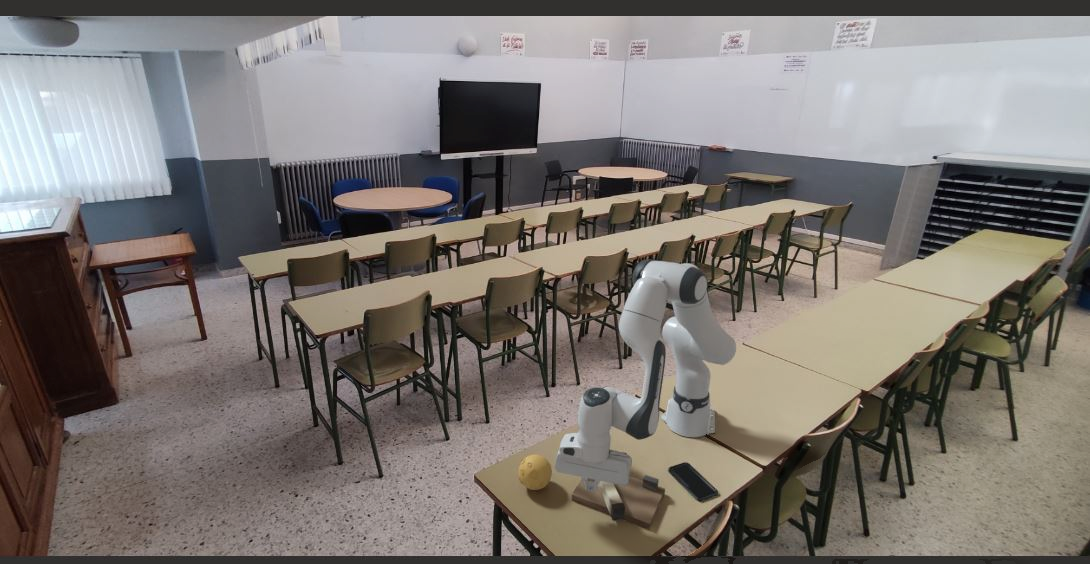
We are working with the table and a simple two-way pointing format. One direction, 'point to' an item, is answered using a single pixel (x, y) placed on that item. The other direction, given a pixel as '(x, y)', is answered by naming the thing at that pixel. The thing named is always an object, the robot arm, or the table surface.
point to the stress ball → (534, 472)
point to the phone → (693, 481)
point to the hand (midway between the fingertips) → (590, 489)
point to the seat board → (627, 499)
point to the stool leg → (612, 500)
